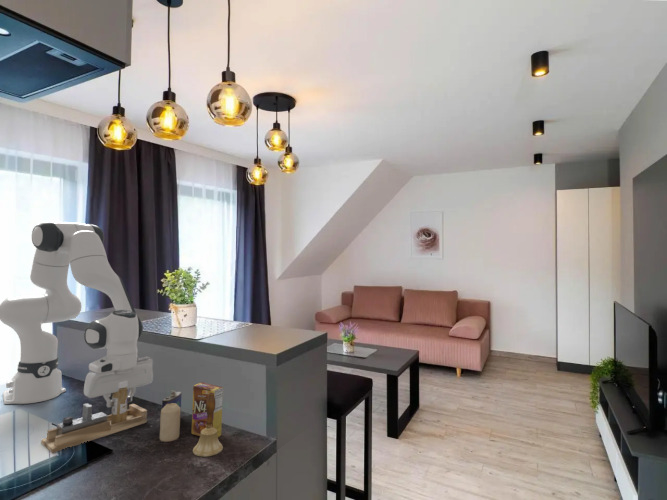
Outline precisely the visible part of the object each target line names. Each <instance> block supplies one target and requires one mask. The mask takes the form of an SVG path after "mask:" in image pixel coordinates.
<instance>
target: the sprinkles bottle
mask: <svg viewBox="0 0 667 500" xmlns="http://www.w3.org/2000/svg"><path fill="white" fill-rule="evenodd" d="M127 386H128V381H124V382H120V383H119V384H118V388H119V391H118V392H115V393H112V397H111V400H112V401H114V406H113V407H111V414H112V421H111V424H115V423H119V422H122V421H125V420H127V418H126V417H127V410H128V403H127V396H128V394H129V393H128V392H129V389H127Z"/></svg>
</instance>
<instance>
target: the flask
mask: <svg viewBox="0 0 667 500" xmlns="http://www.w3.org/2000/svg"><path fill="white" fill-rule="evenodd" d="M171 403H176V404H177V405H178V406H179V407H180V408H181V410H180V419H181V414H182V412H181V411H182V391H177V390H173V389H172V390H171V393H170V395H169V396H165V397H164V398H163V399H162V400H161V409H162V408H163V407H164V406H165V405H166V404H171Z"/></svg>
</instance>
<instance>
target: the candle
mask: <svg viewBox="0 0 667 500" xmlns="http://www.w3.org/2000/svg"><path fill="white" fill-rule="evenodd" d="M180 410H181V411H182V407H181V408H180V407H179V406H178V405H177V404H176V403H171V404H166V405H165V406H164V407H163V408H162V407H161V409H160V421H159V423H160V424H159V425H160V426H159V441H160V442H167V443H168V442H173V441H176V440H177V439H179V438H180V430H181V429H180V426H181V418H180Z"/></svg>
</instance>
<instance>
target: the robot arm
mask: <svg viewBox="0 0 667 500" xmlns="http://www.w3.org/2000/svg"><path fill="white" fill-rule="evenodd" d="M31 241H32V244H33V246H34V247H35V248H36V249H35V253H34V256H33V260H32V265H31V270H30V275H29V276H30V278H29V279H30V281H31V283H32V284H33V285H35V286H36V287H38V288H41V289H44V290H45V293H43V294H31V295H29V294H28V295H19V296H13V297H9V298H8V297H7V298H5V299H4V300H3V301H1V303H0V321H1V322H2V323H3V324H5V325H6V326H8V327H9V328H11V329H12V330H13V331H14V332H15V334H17V336H18V338H19V342H20V361H19V362H18V364H17V370H16V371H17V372H16V373H15V374H14V376H12V378H11V380H10V381H7V382H6V383H5V384H6V390H3V392H2V397H3V403H4V405H14V404H15V405H18V404H19V405H23V404H24V405H26V404H34V403H40V402H46V401H49V400H52V399H55V398H57V397H59V396H60V394H63V393H65V392H66V390H67V389H66V388H65V387H63V384H62V382H63V381H62V378H63V376H62V371H61V370H60V369H58V367H59V358H58V345H59V340H58V337H57V336H56V335H55V334H53V333H51V332H49V331H45V330H42V324H49V323H50V324H51V323H59V322H65V321H66V322H67V321H70V320H73V319H76V318H77V317H78V316H79V315H80V313H81V311H82V302H81V300H80V298H79V297H78V296H77V295H75V294H74V293H72V291H71V290H70V289H69V286H68V275H69V274H68V273H69V268H70V272H71V274H72V277H73V278H74V279H75V281H76V282H78V284H80V285H82V286H84V287H86V288H89V289H94V290H96V291H99V292H101V293H103V294H105V295H106V296H108V297H109V299H110V301H111V302H112V305H113V308H114V311H112V312H110V314H109V315H108V316H105V317H103V318H99V319H97V320H94V321H91V322H90V323H89V324H88V325H87V326H86V328H85V331H84V334H83V337H84V341H85V344H86V346H88V347H90V348H92V349H94V350H95V349H96V350H101V349H106V355H104V356H103V357H101V358H99V359H96V360H94V361H92V362H90V363H89V364H88V370H89V372H88V373H87V374H86V376H85V381H84V385H83V386H84V387H83V394H84V396H85V397H87V398H88V399H94V398H98V397H101V396H102V397H103V399H104V400H105V401H106V407H107V408H112V407H113V406H114V401H112V399H111V398H112V397H111V395H112V394H113V393H115V392H118V391H119V388H118V384H119V383H120V382H124V381H128V386H127V389H128V392H129V393H127V404H128V403H131V402H133V397H134V396H135V394H136V392H137V388H139V387H143V386H146V385H151V383H152V382H153V381H154V371H153V365H154V360H153V358H152V357H150V356H143V357H138V352H139V350H138V345H137V344H138V341H139V340H140V338H141V337H142V335H143V332H144V324H143V322H142V321H141V319H140V317H139V315H138V313H137V312H136V311H135V308H134V305H133V303H132V300H131V298H130V295H129V293H128V291H127V288H126V286H125V282H124V281H123V279H122V277H121V276H119V275H118V274H117V273H116V272H115V271H114V270H113V268H112V266H111V264H110V262H109V261H108V257H107V252H106V249H105V246H104V242H105V236H104V232H103V230H102V228H101V227H100V226H98V225H95V224H92V223H87V224H86V223H81V222H72V221H69V222H68V221H64V222H63V221H58V222H57V221H42V222H38V223H36V225H35V226H34V227H33V228H32V231H31Z"/></svg>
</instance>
